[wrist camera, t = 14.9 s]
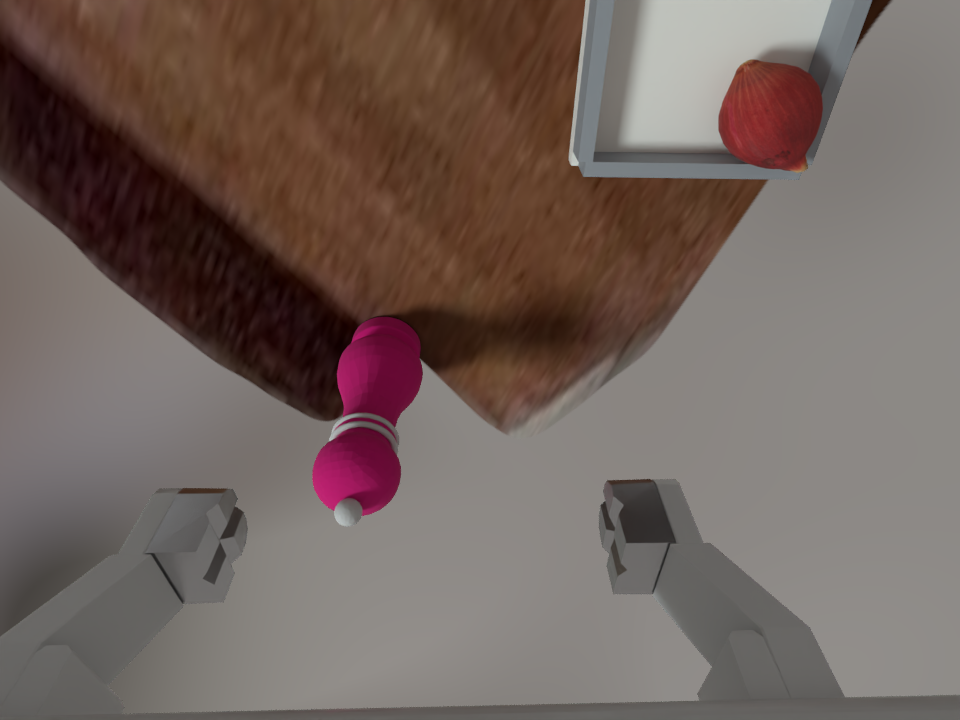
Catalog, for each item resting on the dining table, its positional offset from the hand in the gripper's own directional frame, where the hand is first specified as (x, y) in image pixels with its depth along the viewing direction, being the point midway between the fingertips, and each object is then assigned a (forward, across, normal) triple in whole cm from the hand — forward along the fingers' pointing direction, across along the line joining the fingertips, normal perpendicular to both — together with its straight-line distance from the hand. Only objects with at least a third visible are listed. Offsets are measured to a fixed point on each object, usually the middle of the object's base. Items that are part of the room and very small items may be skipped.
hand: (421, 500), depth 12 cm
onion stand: (+34, -17, -5) cm, 38 cm away
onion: (+30, -18, -4) cm, 36 cm away
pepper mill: (+34, +7, +20) cm, 40 cm away
